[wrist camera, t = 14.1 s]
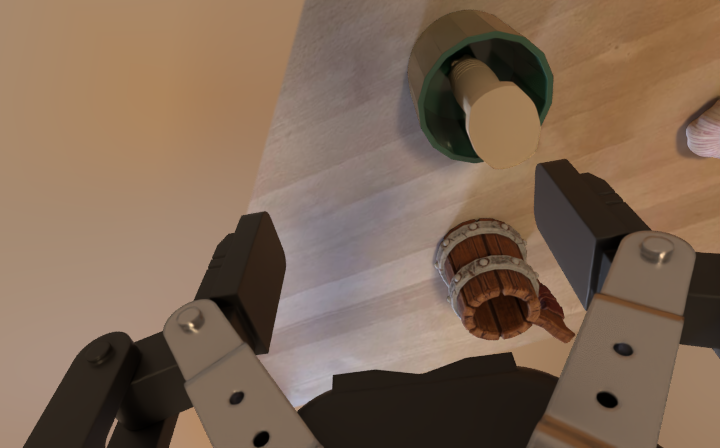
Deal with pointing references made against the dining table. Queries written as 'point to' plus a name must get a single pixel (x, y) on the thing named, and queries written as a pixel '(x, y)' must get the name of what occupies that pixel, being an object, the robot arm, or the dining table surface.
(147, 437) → the robot arm
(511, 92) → the handle
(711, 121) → the garlic bulb
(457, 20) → the cup
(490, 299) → the mug
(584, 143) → the dining table surface
